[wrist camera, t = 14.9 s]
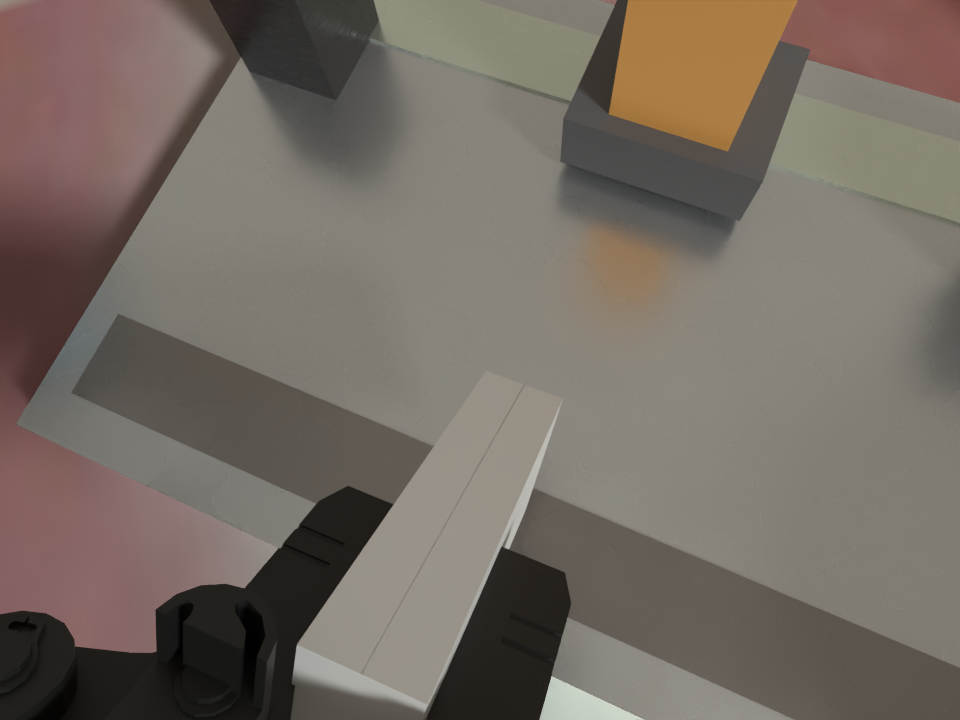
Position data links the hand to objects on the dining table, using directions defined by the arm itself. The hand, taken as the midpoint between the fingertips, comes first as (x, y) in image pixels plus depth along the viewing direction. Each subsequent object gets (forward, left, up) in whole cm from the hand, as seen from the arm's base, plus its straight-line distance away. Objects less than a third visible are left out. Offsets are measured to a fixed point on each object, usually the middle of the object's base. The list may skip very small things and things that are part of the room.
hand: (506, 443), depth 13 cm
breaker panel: (+1, +5, -6) cm, 8 cm away
